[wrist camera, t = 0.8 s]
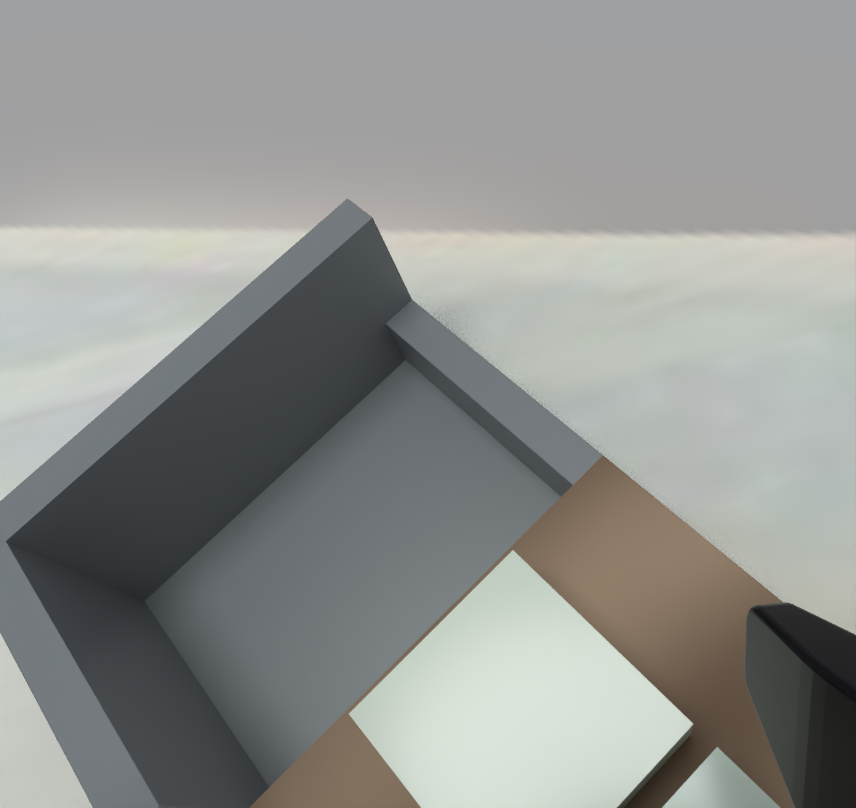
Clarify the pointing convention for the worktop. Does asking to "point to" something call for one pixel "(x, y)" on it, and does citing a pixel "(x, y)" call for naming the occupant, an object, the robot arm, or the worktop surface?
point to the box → (266, 526)
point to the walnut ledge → (621, 626)
